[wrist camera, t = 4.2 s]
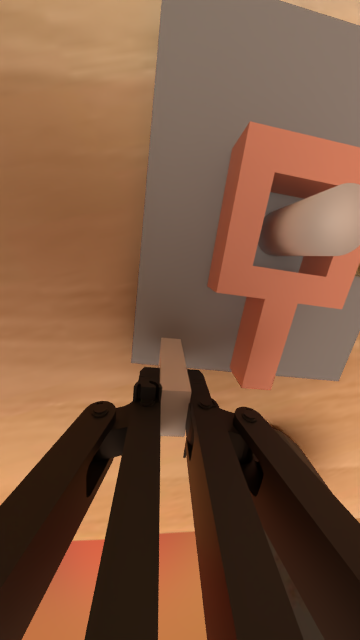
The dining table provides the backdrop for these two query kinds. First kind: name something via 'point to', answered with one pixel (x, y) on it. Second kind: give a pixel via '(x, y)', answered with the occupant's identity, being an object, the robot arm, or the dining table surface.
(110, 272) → the dining table surface
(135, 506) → the robot arm
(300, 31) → the board
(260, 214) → the square nut
